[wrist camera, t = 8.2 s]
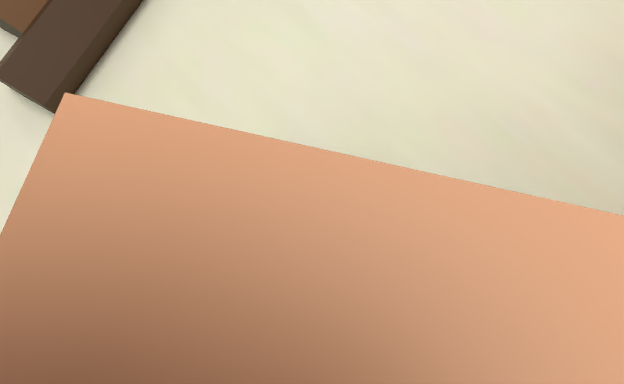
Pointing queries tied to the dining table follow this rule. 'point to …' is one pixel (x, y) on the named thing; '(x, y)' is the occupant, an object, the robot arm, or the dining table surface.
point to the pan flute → (57, 43)
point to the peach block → (291, 266)
